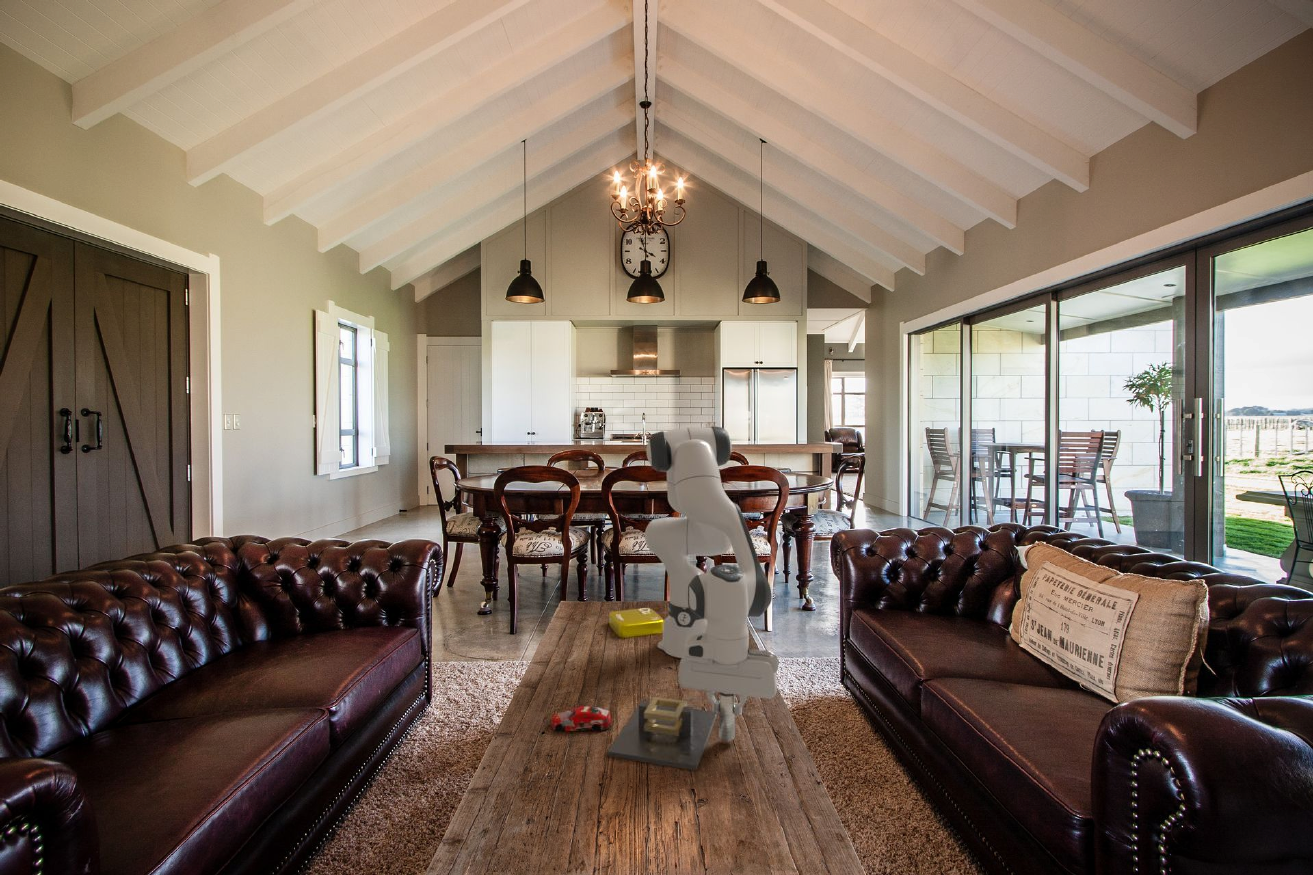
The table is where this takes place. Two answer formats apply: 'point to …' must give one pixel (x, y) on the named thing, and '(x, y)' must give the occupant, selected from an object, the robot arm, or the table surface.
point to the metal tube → (726, 716)
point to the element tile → (636, 622)
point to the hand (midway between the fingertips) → (726, 712)
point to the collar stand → (665, 734)
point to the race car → (582, 719)
